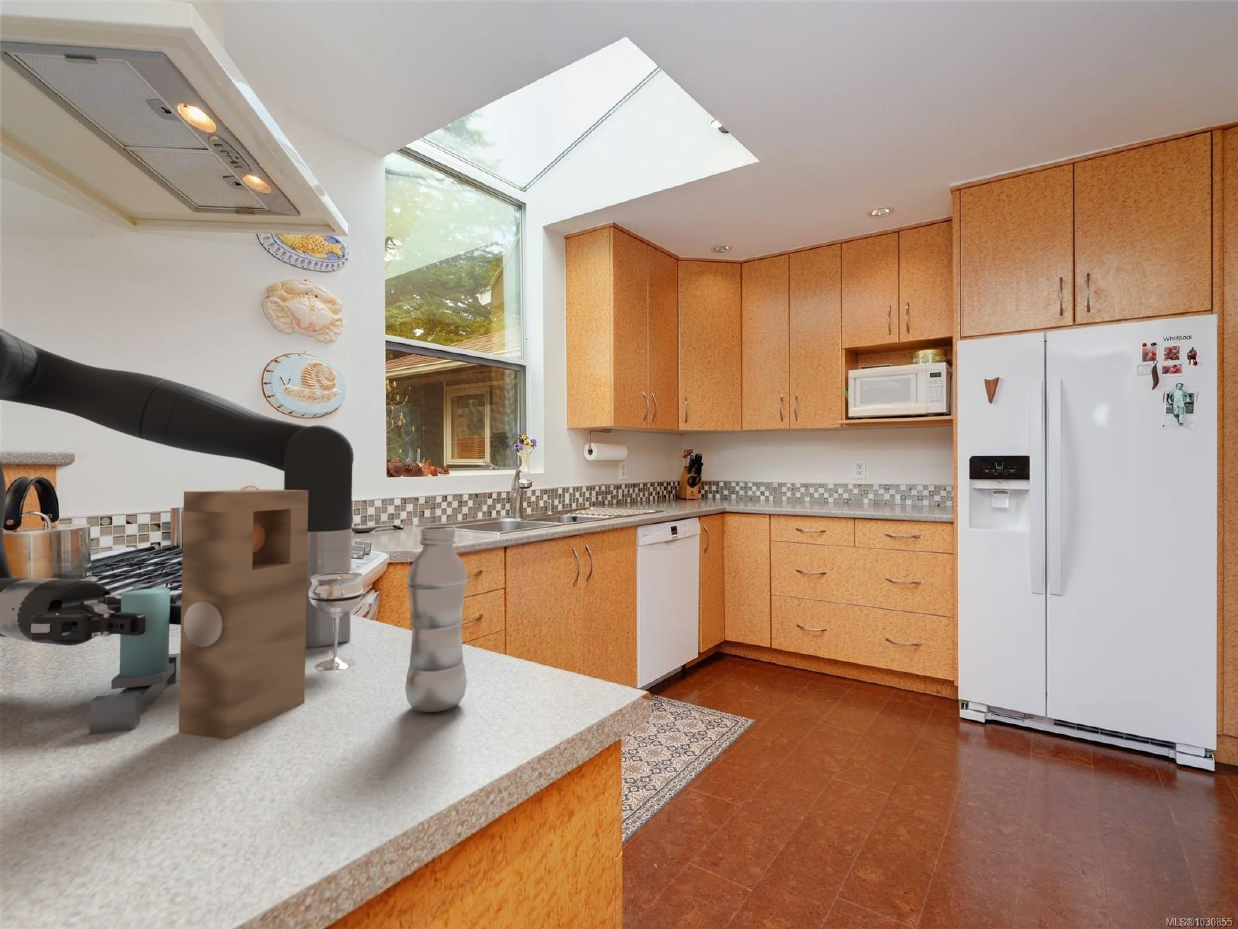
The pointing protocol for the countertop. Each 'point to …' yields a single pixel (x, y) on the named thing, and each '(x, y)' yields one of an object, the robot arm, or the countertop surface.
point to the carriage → (145, 640)
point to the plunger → (258, 536)
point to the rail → (127, 704)
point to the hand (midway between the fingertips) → (164, 619)
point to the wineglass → (335, 605)
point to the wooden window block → (242, 609)
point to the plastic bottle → (436, 623)
